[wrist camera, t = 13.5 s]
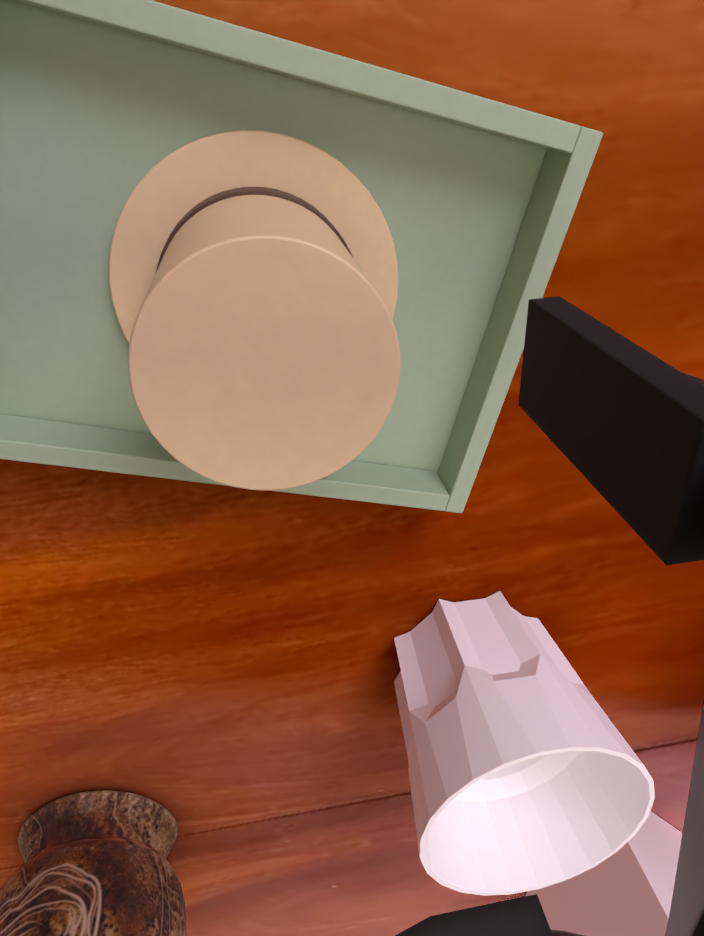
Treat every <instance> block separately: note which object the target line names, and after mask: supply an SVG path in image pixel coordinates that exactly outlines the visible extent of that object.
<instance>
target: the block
mask: <svg viewBox="0 0 704 936" xmlns="http://www.w3.org/2000/svg"><path fill="white" fill-rule="evenodd" d="M681 839H682V832H680V831H679V830H677V829H676V828H674V827H673V826H672V825H670V824H669V823H667V822H666V821H664V820H663V819H661V818H660V817H658V816H657V815H656V814H654V813H653V812H651V811H650V813H649V816H648V818H647V819H646V821H645V822H644V823H643V825H642V826H641V828H640V829H639V830H638V832H637V833H636V835H635V836H634V837H633V838H631V839H630V840H629V841H628V842H627V843H626V844H625V845H624V846H623V847H622V848H620V849H619V850H618V851H617V852H616V853H615V854H613V855H611V856H610V857H608V858H607V859H605V860H604V861H602V862H601V863H599V864H598V865H596V866H595V867H593V868H591V869H589V870H587V871H585V872H583V873H581V874H579V875H576V876H574V877H572V878H570V879H568V880H565V881H562V882H559V883H556V884H553V885H550V886H547V887H544V888H541V889H537V890H532V891H527V893H526V895H525V896H530V895H535V894H537V896H538V898H539V901H540V903H541V906H542V909H543V911H544V914H545V916H546V919H547V922H548V924H549V927H550V929H552V930H561V931H568V932H572V933H576V934H580V935H584V936H665V932H666V928H667V923H668V919H669V913H670V908H671V902H672V895H673V889H674V883H675V877H676V871H677V864H678V858H679V852H680V846H681Z"/></svg>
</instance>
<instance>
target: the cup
mask: <svg viewBox="0 0 704 936" xmlns="http://www.w3.org/2000/svg"><path fill="white" fill-rule="evenodd" d="M394 640H395V645H396V650H397V655H398V660H399V665H400V669H401V670H400V672H399V674H398V675H397V677H396V679H395V680H394V685H395V690H396V696H397V701H398V707H399V712H400V718H401V724H402V729H403V735H404V740H405V746H406V751H407V756H408V768H409V781H410V788H411V796H412V803H413V811H414V819H415V826H416V834H417V841H418V849H419V856H420V859H421V862H422V864H423V866H424V868H425V870H426V872H427V874H429V875H430V876H431V877H432V878H433V879H435V880H436V881H437V882H438V883H439V884H441V885H443V886H445V887H448V888H451V889H453V890H456V891H459V892H462V893H469V894H477V895H485V896H486V895H508V894H516V893H521V892H527V891H532V890H537V889H541V888H544V887H547V886H550V885H553V884H556V883H559V882H562V881H565V880H568V879H570V878H572V877H574V876H576V875H579V874H581V873H583V872H585V871H587V870H589V869H591V868H593V867H595V866H596V865H598V864H599V863H601V862H602V861H604V860H605V859H607V858H608V857H610V856H611V855H613V854H615V853H616V852H617V851H618V850H619V849H620V848H622V847H623V846H624V845H625V844H626V843H627V842H628V841H629V840H630V839H631V838H633V837H634V836H635V835H636V833H637V832H638V830H639V829H640V828H641V826H642V825H643V823H644V822H645V821H646V819H647V818H648V816H649V813H650V811H651V808H652V805H653V802H654V799H655V794H654V780H653V779H652V777H651V776H650V774H649V773H648V771H647V769H646V768H645V766H644V765H643V763H642V762H641V761H640V759H639V758H638V757H637V755H636V754H635V753H634V751H633V750H632V749H631V747H630V746H629V745H628V743H627V742H626V741H625V739H624V738H623V737H622V735H621V734H620V733H619V731H618V730H617V729H616V727H615V726H614V725H613V723H612V722H611V721H610V719H609V718H608V717H607V715H606V714H605V712H604V711H603V710H602V708H601V707H600V706H599V704H598V703H597V702H596V700H595V699H594V698H593V696H592V695H591V693H590V692H589V691H588V689H587V688H586V687H585V685H584V684H583V682H582V681H581V679H580V678H579V676H578V675H577V673H576V672H575V670H574V669H573V668H572V666H571V665H570V663H569V662H568V660H567V659H566V658H565V656H564V655H563V653H562V652H561V650H560V649H559V648H558V646H557V645H556V643H555V642H554V640H553V639H552V638H551V636H550V635H549V633H548V632H547V630H546V629H545V627H544V626H543V625H542V623H541V622H540V620H539V619H538V618H534V617H527V616H523V615H522V614H520V613H519V612H517V611H516V610H515V609H513V608H512V607H511V606H510V605H509V604H508V602H507V600H506V599H505V597H504V596H503V594H502V593H501V591H499V592H497V593H495V594H492V595H490V596H488V597H486V598H483V599H476V600H468V601H460V602H450V601H446V600H441V599H438V601H437V603H436V605H435V607H434V609H433V611H432V613H431V614H429V615H428V616H427V617H426V618H425V619H424V620H423V621H421V622H420V623H419V624H418V625H417V626H416V627H415V628H413V629H412V630H411V631H410V632H408V633H405V634H403V635H400V636H398V637H395V638H394Z"/></svg>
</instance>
